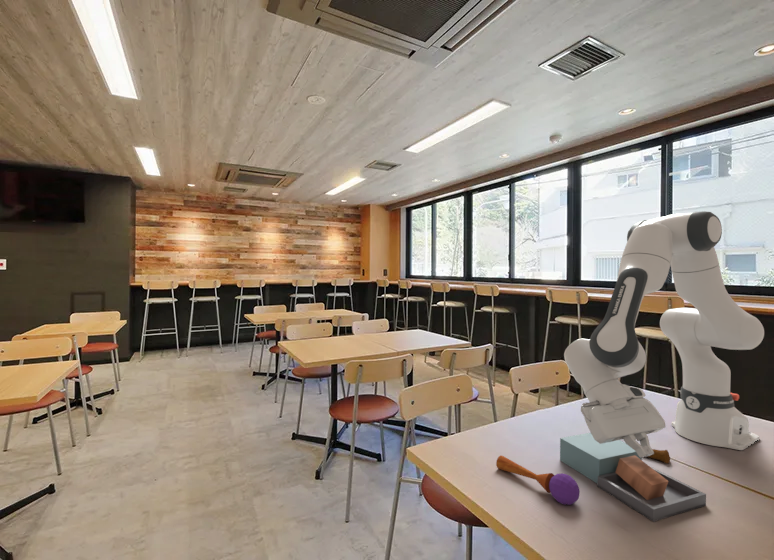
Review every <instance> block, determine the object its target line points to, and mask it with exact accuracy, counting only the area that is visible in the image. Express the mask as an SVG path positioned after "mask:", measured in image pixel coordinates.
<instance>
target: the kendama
mask: <svg viewBox="0 0 774 560" xmlns="http://www.w3.org/2000/svg"><path fill="white" fill-rule="evenodd" d="M495 465H496V468H497V469H498V470H500V471H505V472H508V473H512V474H515V475H518V476H522V477H525V478H529V479H533V480H536V481H537V483H538V484H539V485H540V486H541V487H542V489H544V491H546V492H547V494H551V496H552V497H553V498H554V499H555V500H556V501H557V503H559V504H562V505H566V504H567V505H566V506H568V505H573V504H574V503H576V502H577V501H578V500H579V497H580V495H581V494H580V492H581V491H580V487H579V485H578V482H577V481H576V479H574V478H573V477H572V476H571V475H570V474H566V473H563V472H562V473H556V474H554V473H551V472H549V473H542V474H536V473H535V472H534V471H531V470H529V469H527V468H526V467H524V466H522V465H519V463H516V462H515V461H513V460H511V459H509V458H507V457H506V456H504V455H499V456H498V457H497V459H496V462H495Z"/></svg>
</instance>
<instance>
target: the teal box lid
mask: <svg viewBox="0 0 774 560" xmlns="http://www.w3.org/2000/svg"><path fill="white" fill-rule="evenodd" d="M559 445H560V446H559V461H560V462H562V463H563V464H565V465H567V466H568V467H570V468H571V469H573V470H574V471H576V472H578V473H580V474H581V475H583V476H584V477H586V478H587V479H589V480H591V481H593V482H594V483H596V485H598V476H600V475H604V474H609V473H613V472H616V469H617V466H618V463H619V459H620V458H625V457H630V456H634V455H635V456H637V457H638V458H639V459H641V460H642V461H643V457H642V458H641V457H639V455H638V454H637V452H636V451H635V450H634V449H632V448H631V447H630V446H628V445H627V444H626V443H625V441H624V440H623V441H622V439H621V440H617V441H612V442H607V443H602V444H600V443H598V442H597V441H596V440H595V439H594V438H593V436H592V434H591V432H586V433H581V434H575V435H570V436H564V437H560V438H559Z"/></svg>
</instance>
